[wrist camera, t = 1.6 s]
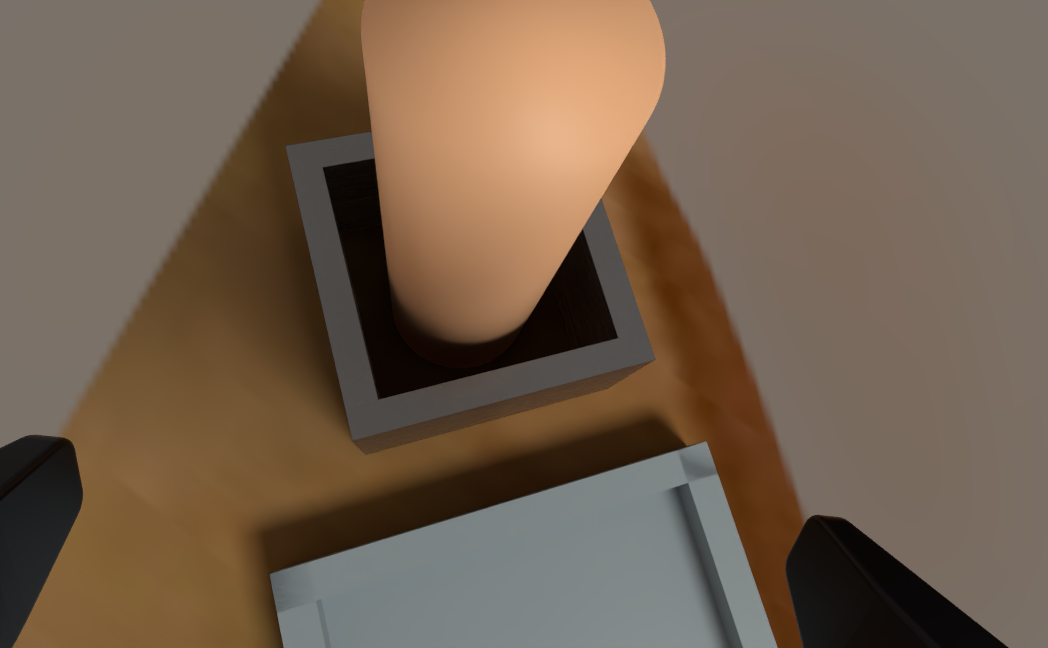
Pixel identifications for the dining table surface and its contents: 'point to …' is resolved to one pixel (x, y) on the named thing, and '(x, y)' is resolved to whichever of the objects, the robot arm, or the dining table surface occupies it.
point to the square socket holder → (376, 424)
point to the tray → (546, 572)
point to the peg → (496, 151)
